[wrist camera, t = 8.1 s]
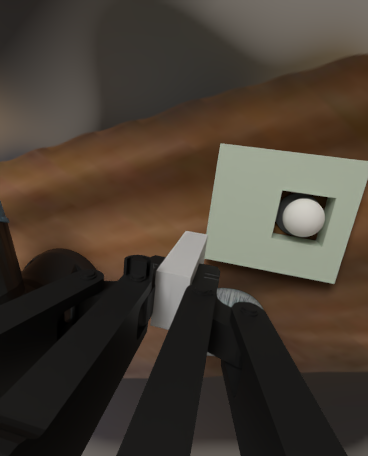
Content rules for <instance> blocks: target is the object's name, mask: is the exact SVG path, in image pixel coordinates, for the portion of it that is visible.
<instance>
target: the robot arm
mask: <svg viewBox="0 0 368 456" xmlns="http://www.w3.org/2000/svg"><path fill="white" fill-rule="evenodd" d="M7 222H8V223H9V219H8V218H6V216H5V213H4V210H3V207H2V204H1V201H0V456H81V455H82V453H83V451H84V449H85V447H86V445H87V444H88V442H89V440H90V438H91V436H92V434H93V432H94V430H95V428H96V427H97V425H98V423H99V421H100V419H101V417H102V415H103V413H104V411H105V410H106V408H107V406H108V404H109V402H110V400H111V398H112V396H113V394H114V392H115V390H116V389H117V387H118V385H119V383H120V381H121V379H122V378H123V376H124V374H125V372H126V370H127V368H128V366H129V364H130V363H131V361H132V359H133V357H134V355H135V353H136V351H137V349H138V347H139V346H140V344H141V342H142V340H143V338H144V336H145V334H146V332H147V327H148V321H149V319H150V317H151V326H155V327H159V328H164V329H168V330H169V331H168V333H167V335H166V338H165V340H164V343H163V345H162V347H161V350H160V352H159V355H158V357H157V359H156V362H155V364H154V367H153V369H152V371H151V374H150V376H149V379H148V381H147V383H146V386H145V388H144V391H143V393H142V396H141V398H140V400H139V403H138V405H137V408H136V410H135V412H134V415H133V417H132V420H131V422H130V425H129V427H128V429H127V432H126V434H125V437H124V439H123V441H122V444H121V446H120V448H119V451H118V453H117V455H116V456H190V453H191V447H192V440H193V435H194V429H195V422H196V417H197V410H198V405H199V398H200V392H201V387H202V381H203V375H204V369H205V363H206V357H207V352H209V353H211V354H212V355H214V356H216V357H218V358H220V359H221V368H222V372H223V377H224V381H225V386H226V391H227V395H228V400H229V404H230V408H231V413H232V418H233V423H234V427H235V432H236V436H237V441H238V445H239V450H240V455H241V456H347V454H346V452H345V450H344V449H343V447H342V445H341V444H340V442H339V440H338V438H337V437H336V435H335V433H334V431H333V429H332V428H331V426H330V424H329V422H328V421H327V419H326V417H325V415H324V414H323V412H322V411H321V408H320V407H319V405H318V403H317V401H316V400H315V398H314V396H313V394H312V393H311V391H310V389H309V387H308V386H307V384H306V382H305V381H304V379H303V377H302V375H301V373H300V372H299V370H298V368H297V366H296V365H295V363H294V361H293V359H292V358H291V356H290V354H289V352H288V351H287V349H286V347H285V345H284V344H283V342H282V340H281V338H280V337H279V335H278V333H277V331H276V330H275V328H274V326H273V324H272V323H271V321H270V319H269V317H268V316H267V314H266V312H265V311H264V310H263V309H262V308H261V307H259V306H258V305H256V304H253V303H251V302H237V303H234V304H233V306H232V307H230V306H228V305H226V304H224V303H222V302H221V301H220V300H219V299H218V297H217V289H218V283H219V276H220V270H219V269H218V267H215V266H210V265H205V264H204V258H205V251H206V245H207V239H208V235H206V234H200V233H195V232H189V231H185V233H184V234H183V235H182V237H181V238H180V239H179V241H178V242H177V243H176V245H175V246H174V248H173V249H172V250H171V252H170V253H169V254H168V256H167V257H161V256H156V255H155V256H153V257H147V256H143V255H131V256H127V257H126V258H125V260H124V275H123V276H122V277H121V278H120V279H119V280H118V281H104V275H103V273H101V272H100V271H97V270H96V269H95V267H94V266H93V265H92V264H91V263H90V262H89V261H88V260H87V259H86V258H84V257H83V256H82V255H80V254H78V253H76V252H74V251H71V250H67V249H52V250H48V251H46V252H44V253H42V254H40V255H38V256H36V257H35V258H33V259H32V260H31V261H30V262H29V263H28V264H27V265H26V267H25V268H24V270H23V271H21V270H20V267H19V263H18V259H17V256H16V252H15V248H14V245H13V241H12V237H11V234H10V230H9V226H8V223H7Z"/></svg>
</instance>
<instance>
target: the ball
mask: <svg viewBox="0 0 368 456" xmlns="http://www.w3.org/2000/svg"><path fill="white" fill-rule="evenodd" d="M324 221H325V214H324V210H323V209H322V207H321V206H320V205H319V204H318V203H317V202H315V201H313V200H311V199H298V200H295V201H293V202H291V203H290V204H289V205H288V206H287V207H286V208H285V210H284V212H283V224H284V226H285V228H286V229H287V230H288V231H289V232H290V233H291V234H293V235H295V236H299V237H308V236H312V235H314V234H316V233H317V232H318V231H319V230H320V229H321V228H322V227H323V225H324Z"/></svg>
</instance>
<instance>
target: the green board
mask: <svg viewBox="0 0 368 456" xmlns="http://www.w3.org/2000/svg"><path fill="white" fill-rule="evenodd" d="M367 179H368V161H361V160H353V159H345V158H336V157H328V156H320V155H312V154H303V153H295V152H287V151H279V150H271V149H262V148H254V147H246V146H238V145H229V144H220V150H219V156H218V163H217V169H216V176H215V182H214V188H213V195H212V201H211V207H210V214H209V220H208V227H207V233H206V235H208V239H207V245H206V251H205V259H210V260H215V261H220V262H225V263H230V264H235V265H241V266H246V267H251V268H256V269H261V270H266V271H271V272H276V273H281V274H286V275H291V276H297V277H302V278H307V279H312V280H317V281H322V282H327V283H332V284H334V283H335V280H336V277H337V274H338V271H339V268H340V264H341V261H342V258H343V255H344V252H345V249H346V246H347V242H348V239H349V236H350V233H351V230H352V227H353V224H354V220H355V217H356V214H357V211H358V208H359V205H360V201H361V198H362V195H363V192H364V189H365V186H366V183H367ZM282 190H284V191H290V192H297V193H295V194H291V195H289V196H287V197H285V198H284V199H283V200H282V201H281V202H280V198H281V194H282ZM307 194H311V195H318V196H325V197H328V199H327V202H326V206H325V210H324V214H325V221H324V225H323V227H322V228H321V229H320V230H319V231H318V234H317V238H316V240H311V239H305V238H299V237H293V236H287V235H282V234H276V233H273V229H274V224H275V220H276V222H277V224H278V226H279V227H280V229H281V230H282V231H284V232H285V233H287V234H290V235H293V234H291V233H290V232H289V231H288V230H287V229H286V228H285V226H284V224H283V212H284V210H285V208H286V207H287V206H288V205H289V204H290V203H291V202H293V201H295V200H298V199H311V200H313V201H315V202H317V200H316V199H315V198H313V197H312V196H310V195H307ZM317 203H318V202H317ZM318 204H319V203H318Z"/></svg>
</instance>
